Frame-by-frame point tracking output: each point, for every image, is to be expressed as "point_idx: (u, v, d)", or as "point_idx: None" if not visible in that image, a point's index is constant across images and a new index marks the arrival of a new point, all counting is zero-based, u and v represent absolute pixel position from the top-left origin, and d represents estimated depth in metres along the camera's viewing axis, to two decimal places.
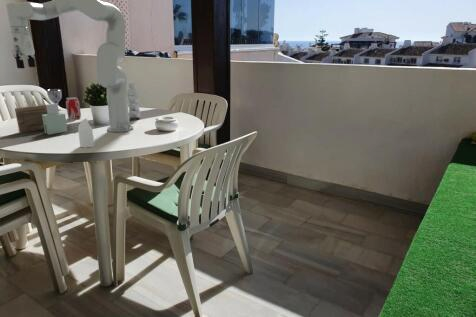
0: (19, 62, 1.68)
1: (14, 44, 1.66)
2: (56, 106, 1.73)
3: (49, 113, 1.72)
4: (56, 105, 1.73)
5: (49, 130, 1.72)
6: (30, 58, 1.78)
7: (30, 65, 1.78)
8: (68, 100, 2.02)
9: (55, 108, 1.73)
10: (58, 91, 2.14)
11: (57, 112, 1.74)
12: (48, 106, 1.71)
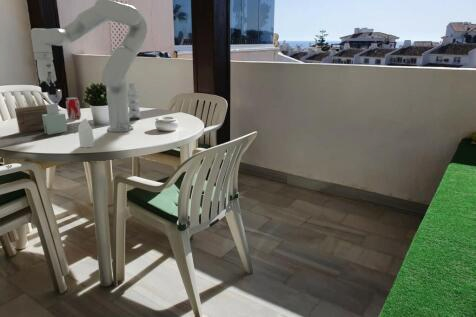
0: (53, 88, 1.66)
1: (47, 70, 1.63)
2: (56, 106, 1.73)
3: (49, 113, 1.72)
4: (56, 105, 1.73)
5: (49, 130, 1.72)
6: (44, 83, 1.72)
7: (44, 90, 1.73)
8: (68, 100, 2.02)
9: (55, 108, 1.73)
10: (58, 91, 2.14)
11: (57, 112, 1.74)
12: (48, 106, 1.71)
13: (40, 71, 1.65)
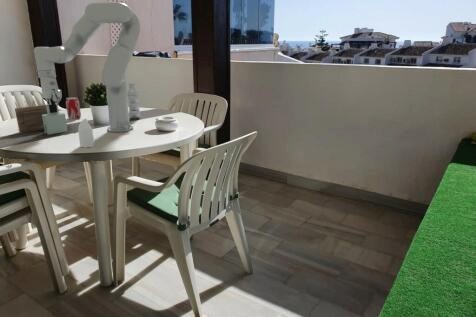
0: (54, 107, 1.71)
1: (50, 88, 1.66)
2: None
3: (49, 113, 1.72)
4: (56, 105, 1.73)
5: (49, 130, 1.72)
6: None
7: None
8: (68, 100, 2.02)
9: None
10: None
11: (57, 112, 1.74)
12: (48, 106, 1.71)
13: (44, 88, 1.68)
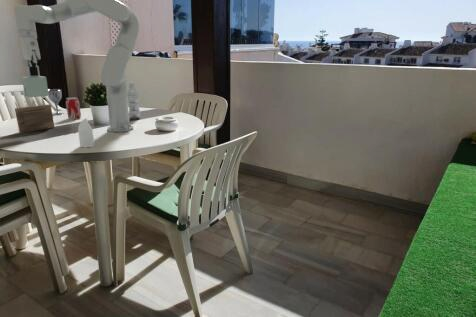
0: (34, 69, 1.66)
1: (30, 48, 1.60)
2: (37, 69, 1.68)
3: (29, 75, 1.66)
4: (37, 67, 1.68)
5: (29, 93, 1.66)
6: None
7: None
8: (68, 100, 2.02)
9: None
10: (58, 91, 2.14)
11: (38, 75, 1.69)
12: (28, 68, 1.65)
13: (24, 49, 1.62)
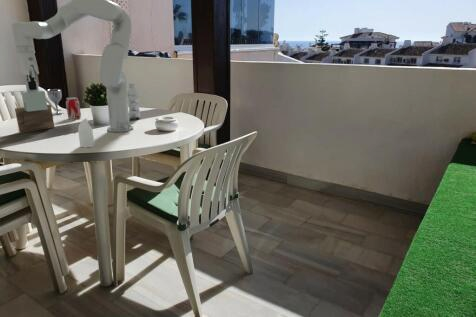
0: (33, 84, 1.70)
1: (29, 64, 1.64)
2: (36, 83, 1.72)
3: (28, 90, 1.70)
4: (36, 82, 1.72)
5: (28, 107, 1.70)
6: None
7: None
8: (68, 100, 2.02)
9: None
10: (58, 91, 2.14)
11: (37, 89, 1.73)
12: (27, 83, 1.69)
13: (22, 65, 1.66)
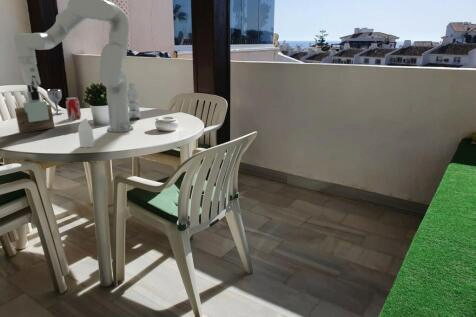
0: (36, 94, 1.71)
1: (30, 74, 1.66)
2: None
3: (30, 101, 1.72)
4: None
5: (30, 117, 1.72)
6: None
7: None
8: (68, 100, 2.02)
9: None
10: (58, 91, 2.14)
11: (38, 100, 1.74)
12: (29, 93, 1.71)
13: (24, 75, 1.68)
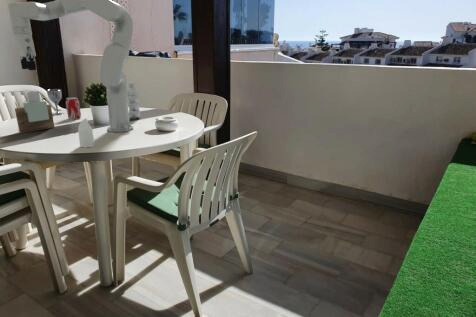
0: (32, 64, 1.64)
1: (25, 45, 1.62)
2: (37, 94, 1.74)
3: (30, 101, 1.72)
4: (37, 93, 1.73)
5: (30, 117, 1.72)
6: (24, 60, 1.71)
7: (24, 67, 1.71)
8: (68, 100, 2.02)
9: (36, 95, 1.73)
10: (58, 91, 2.14)
11: (38, 100, 1.74)
12: (29, 93, 1.71)
13: (19, 46, 1.64)
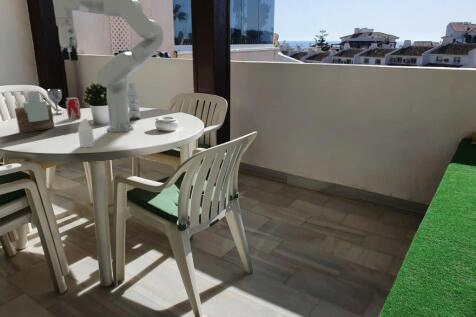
0: (75, 54, 1.67)
1: (68, 36, 1.65)
2: (37, 94, 1.74)
3: (30, 101, 1.72)
4: (37, 93, 1.73)
5: (30, 117, 1.72)
6: (65, 51, 1.74)
7: (65, 58, 1.74)
8: (68, 100, 2.02)
9: (36, 95, 1.73)
10: (58, 91, 2.14)
11: (38, 100, 1.74)
12: (29, 93, 1.71)
13: (62, 37, 1.67)
